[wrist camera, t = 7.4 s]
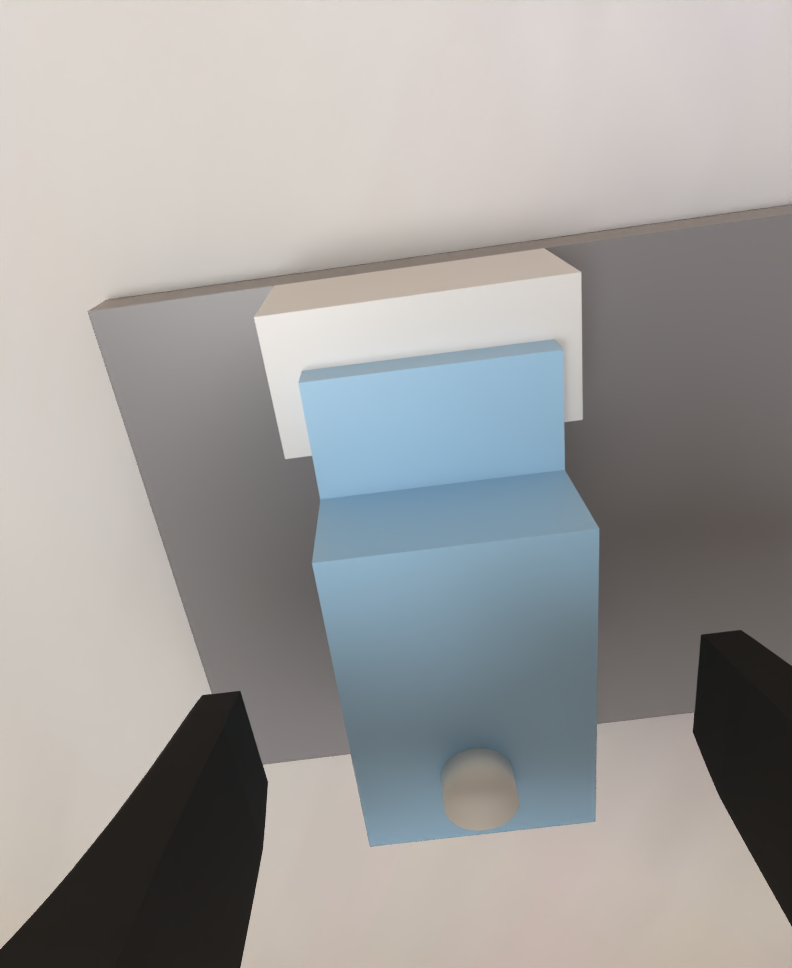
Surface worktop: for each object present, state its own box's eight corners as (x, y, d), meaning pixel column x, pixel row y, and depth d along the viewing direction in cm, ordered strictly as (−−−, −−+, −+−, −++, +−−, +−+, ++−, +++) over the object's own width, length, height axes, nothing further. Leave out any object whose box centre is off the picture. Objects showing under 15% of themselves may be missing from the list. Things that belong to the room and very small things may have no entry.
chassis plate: (1132, 157, 13) (1365, 163, 10) (979, 648, 19) (1101, 750, 16) (105, 300, 14) (29, 348, 11) (242, 738, 19) (217, 855, 16)
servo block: (522, 305, 13) (616, 408, 8) (537, 701, 18) (603, 924, 13) (312, 331, 13) (279, 449, 8) (380, 719, 18) (384, 948, 13)
